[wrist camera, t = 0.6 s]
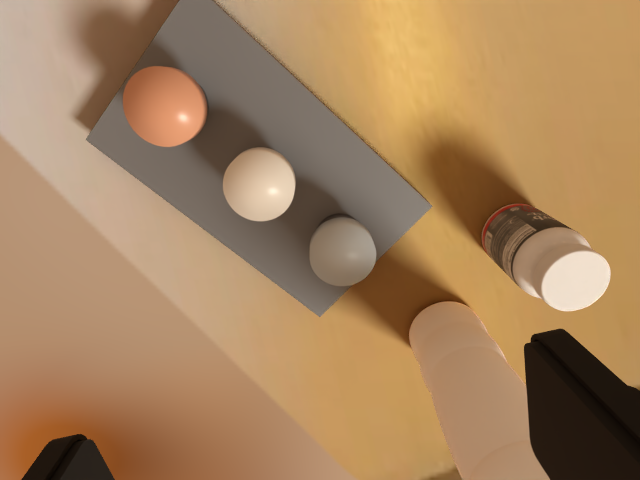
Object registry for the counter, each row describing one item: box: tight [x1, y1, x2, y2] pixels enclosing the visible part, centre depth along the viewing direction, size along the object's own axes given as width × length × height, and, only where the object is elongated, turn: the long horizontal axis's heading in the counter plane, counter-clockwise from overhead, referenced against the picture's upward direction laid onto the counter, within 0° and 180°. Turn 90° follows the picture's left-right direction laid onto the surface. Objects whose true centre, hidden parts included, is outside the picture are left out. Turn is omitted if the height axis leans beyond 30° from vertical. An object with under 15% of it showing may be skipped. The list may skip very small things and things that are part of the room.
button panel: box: [86, 0, 432, 317], centre depth 33 cm, size 14×24×3 cm, turn 48°
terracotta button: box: [123, 66, 207, 147], centre depth 28 cm, size 5×5×2 cm
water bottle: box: [409, 301, 550, 480], centre depth 29 cm, size 7×7×25 cm
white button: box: [223, 147, 296, 221], centre depth 30 cm, size 5×5×2 cm
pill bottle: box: [482, 204, 610, 311], centre depth 33 cm, size 6×6×10 cm
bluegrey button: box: [310, 217, 376, 286], centre depth 32 cm, size 5×5×2 cm
